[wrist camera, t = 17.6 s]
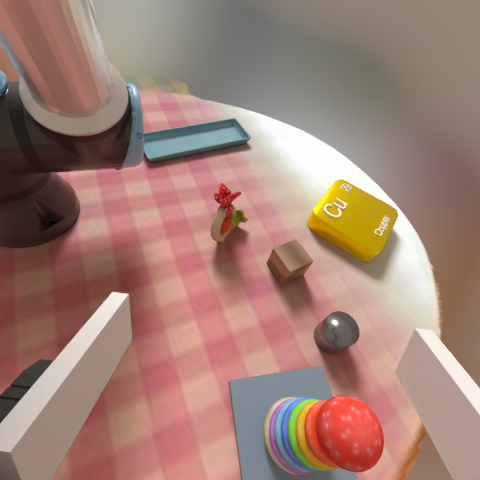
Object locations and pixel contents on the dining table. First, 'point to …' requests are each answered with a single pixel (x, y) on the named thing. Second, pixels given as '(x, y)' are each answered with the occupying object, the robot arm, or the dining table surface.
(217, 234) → the bird rattle
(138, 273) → the dining table surface
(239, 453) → the pad
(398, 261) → the dining table surface
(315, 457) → the stacking toy
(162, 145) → the rectangular tray
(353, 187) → the element tile
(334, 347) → the graphite cylinder
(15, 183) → the robot arm
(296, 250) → the walnut cube
